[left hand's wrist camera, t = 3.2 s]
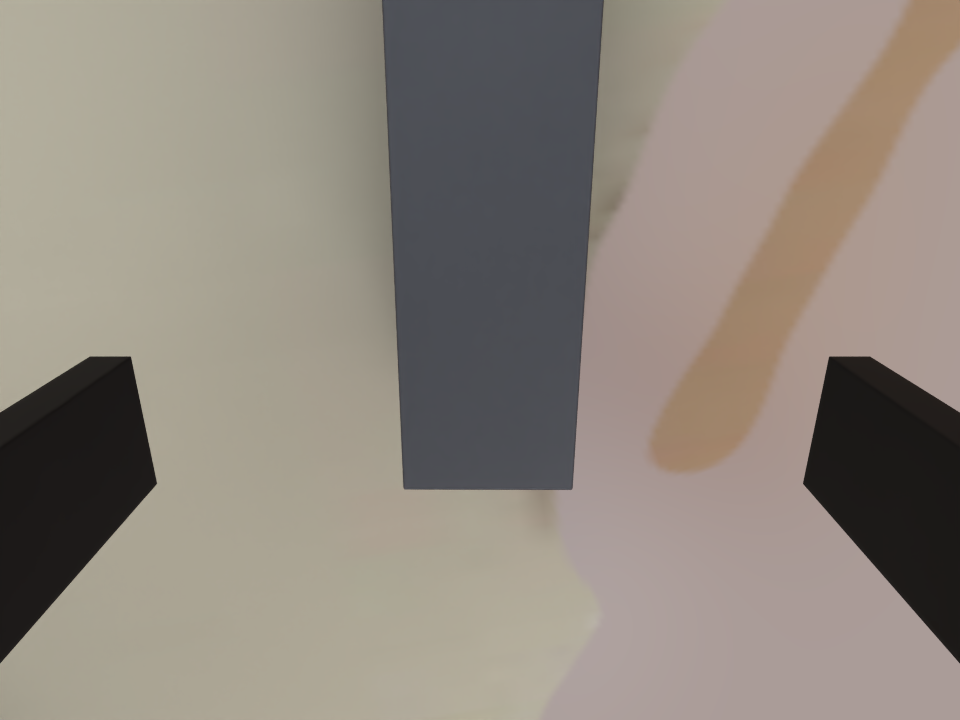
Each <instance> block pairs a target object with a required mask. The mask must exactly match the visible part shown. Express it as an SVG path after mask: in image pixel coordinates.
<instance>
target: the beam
mask: <svg viewBox="0 0 960 720" xmlns="http://www.w3.org/2000/svg"><path fill="white" fill-rule="evenodd" d="M603 3H604V0H382V8H383V31H384V54H385V76H386V99H387V122H388V145H389V168H390V191H391V213H392V236H393V259H394V282H395V305H396V328H397V350H398V373H399V396H400V419H401V442H402V465H403V487H404V489H453V490H571V489H572V488H573V472H574V457H575V441H576V425H577V409H578V393H579V378H580V363H581V347H582V331H583V316H584V300H585V284H586V269H587V253H588V238H589V222H590V206H591V191H592V175H593V159H594V144H595V128H596V112H597V97H598V81H599V65H600V50H601V34H602V19H603Z"/></svg>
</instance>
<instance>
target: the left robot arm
mask: <svg viewBox="0 0 960 720" xmlns="http://www.w3.org/2000/svg"><path fill="white" fill-rule="evenodd" d="M156 484H157V482H156V477H155V472H154V467H153V462H152V457H151V452H150V448H149V443H148V438H147V433H146V428H145V423H144V418H143V414H142V409H141V404H140V399H139V394H138V389H137V384H136V380H135V375H134V370H133V365H132V360H131V357H89V358H87V359H85V360H84V361H82V362H81V363H79V364H77V365H76V366H74V367H73V368H71V369H69V370H68V371H66V372H65V373H63V374H61V375H60V376H58V377H57V378H55V379H53V380H52V381H50V382H49V383H47V384H45V385H44V386H42V387H41V388H39V389H37V390H36V391H34V392H32V393H31V394H29V395H28V396H26V397H24V398H23V399H21V400H20V401H18V402H16V403H15V404H13V405H12V406H10V407H8V408H7V409H5V410H4V411H2V412H0V663H1V662H2V661H3V660H4V658H5V657H6V656H7V655H8V654H9V653H10V651H11V650H12V649H13V648H14V647H15V646H16V645H17V643H18V642H19V641H20V640H21V639H22V638H23V637H24V635H25V634H26V633H27V632H28V631H29V630H30V629H31V627H32V626H33V625H34V624H35V623H36V622H37V621H38V619H39V618H40V617H41V616H42V615H43V614H44V613H45V611H46V610H47V609H48V608H49V607H50V606H51V605H52V603H53V602H54V601H55V600H56V599H57V598H58V596H59V595H60V594H61V593H62V592H63V591H64V590H65V588H66V587H67V586H68V585H69V584H70V583H71V582H72V580H73V579H74V578H75V577H76V576H77V575H78V574H79V572H80V571H81V570H82V569H83V568H84V567H85V566H86V564H87V563H88V562H89V561H90V560H91V559H92V558H93V556H94V555H95V554H96V553H97V552H98V551H99V550H100V548H101V547H102V546H103V545H104V544H105V543H106V541H107V540H108V539H109V538H110V537H111V536H112V535H113V533H114V532H115V531H116V530H117V529H118V528H119V527H120V525H121V524H122V523H123V522H124V521H125V520H126V519H127V517H128V516H129V515H130V514H131V513H132V512H133V511H134V509H135V508H136V507H137V506H138V505H139V504H140V503H141V501H142V500H143V499H144V498H145V497H146V496H147V495H148V493H149V492H150V491H151V490H152V489H153V488H154V486H155V485H156ZM803 484H804V485H805V486H806V488H807V489H808V490H809V491H810V492H811V493H812V494H813V496H814V497H815V498H816V499H817V500H818V501H819V503H820V504H821V505H822V506H823V507H824V508H825V509H826V510H827V512H828V513H829V514H830V515H831V516H832V517H833V519H834V520H835V521H836V522H837V523H838V524H839V525H840V527H841V528H842V529H843V530H844V531H845V532H846V533H847V535H848V536H849V537H850V538H851V539H852V540H853V541H854V543H855V544H856V545H857V546H858V547H859V548H860V550H861V551H862V552H863V553H864V554H865V555H866V556H867V558H868V559H869V560H870V561H871V562H872V563H873V564H874V565H875V567H876V568H877V569H878V570H879V571H880V572H881V574H882V575H883V576H884V577H885V578H886V579H887V580H888V582H889V583H890V584H891V585H892V586H893V587H894V588H895V590H896V591H897V592H898V593H899V594H900V595H901V596H902V598H903V599H904V600H905V601H906V602H907V603H908V604H909V606H910V607H911V608H912V609H913V610H914V611H915V613H916V614H917V615H918V616H919V617H920V618H921V619H922V621H923V622H924V623H925V624H926V625H927V626H928V627H929V629H930V630H931V631H932V632H933V633H934V634H935V635H936V637H937V638H938V639H939V640H940V641H941V642H942V643H943V645H944V646H945V647H946V648H947V649H948V650H949V651H950V653H951V654H952V655H953V656H954V657H955V658H956V660H957V661H958V662H959V663H960V412H958V411H956V410H955V409H953V408H952V407H950V406H948V405H947V404H945V403H944V402H942V401H940V400H939V399H937V398H936V397H934V396H932V395H931V394H929V393H928V392H926V391H924V390H923V389H921V388H919V387H918V386H916V385H915V384H913V383H911V382H910V381H908V380H907V379H905V378H903V377H902V376H900V375H899V374H897V373H895V372H894V371H892V370H891V369H889V368H887V367H886V366H884V365H883V364H881V363H879V362H878V361H876V360H875V359H873V358H871V357H829V360H828V365H827V370H826V375H825V380H824V384H823V389H822V394H821V399H820V404H819V409H818V414H817V418H816V423H815V428H814V433H813V438H812V443H811V448H810V453H809V457H808V462H807V467H806V472H805V477H804V482H803Z"/></svg>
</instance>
